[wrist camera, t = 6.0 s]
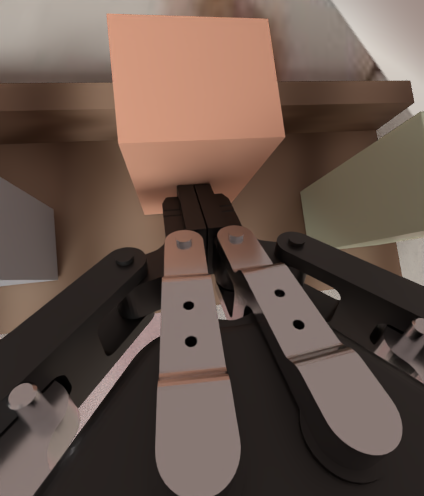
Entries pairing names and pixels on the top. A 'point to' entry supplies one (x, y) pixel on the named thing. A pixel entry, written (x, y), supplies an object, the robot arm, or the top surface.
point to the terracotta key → (193, 102)
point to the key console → (123, 191)
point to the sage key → (372, 193)
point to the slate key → (25, 238)
